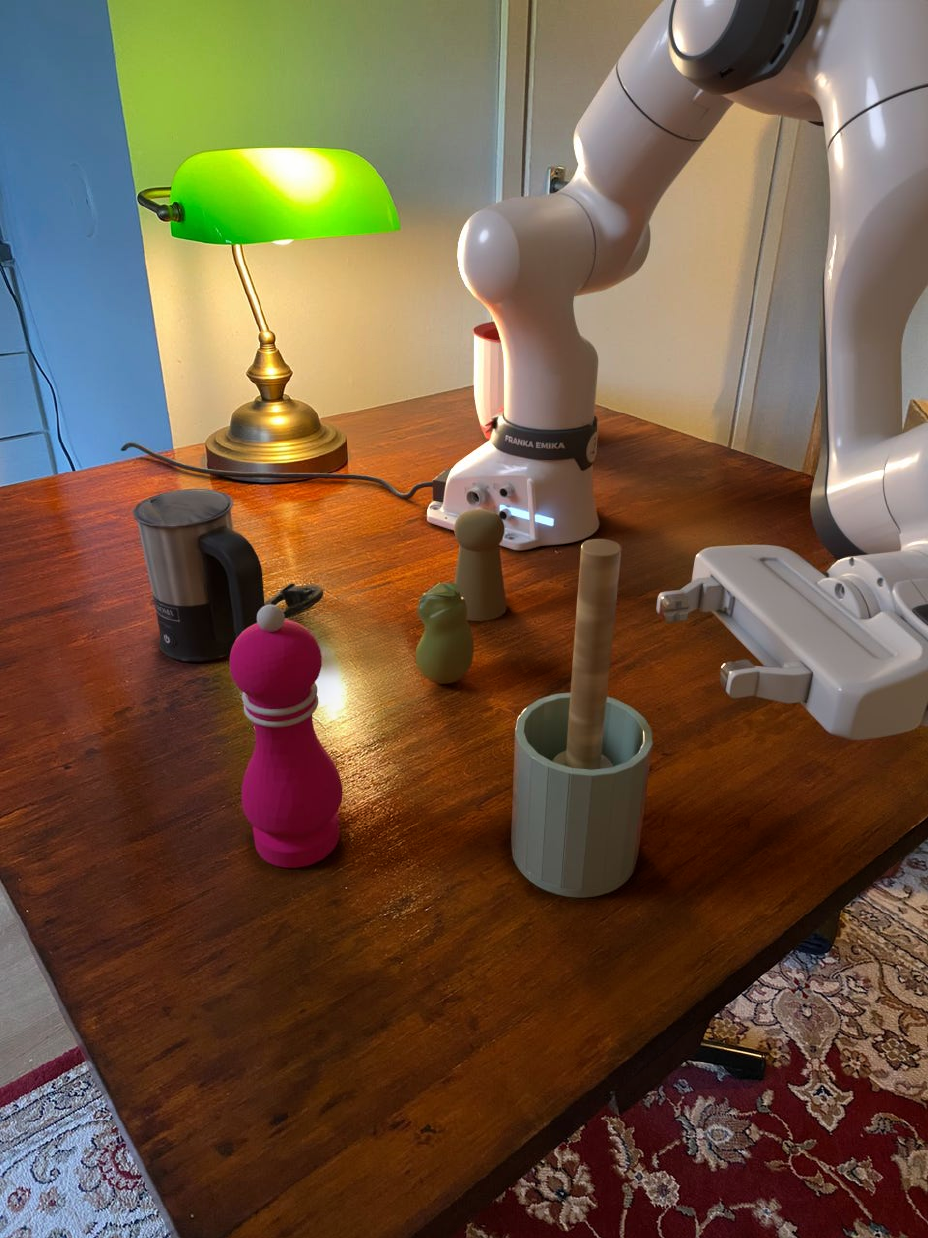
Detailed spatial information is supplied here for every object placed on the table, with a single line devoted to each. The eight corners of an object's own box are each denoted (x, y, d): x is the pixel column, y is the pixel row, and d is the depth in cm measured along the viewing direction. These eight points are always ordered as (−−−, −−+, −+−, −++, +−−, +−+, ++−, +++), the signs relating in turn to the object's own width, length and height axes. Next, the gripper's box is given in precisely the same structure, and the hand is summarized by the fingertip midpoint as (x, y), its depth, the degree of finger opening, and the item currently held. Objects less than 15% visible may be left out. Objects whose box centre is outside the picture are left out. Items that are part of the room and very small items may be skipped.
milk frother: (138, 652, 91) (110, 516, 83) (229, 584, 103) (211, 460, 96) (261, 682, 86) (242, 540, 79) (340, 606, 99) (330, 478, 91)
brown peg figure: (513, 599, 100) (516, 506, 95) (496, 625, 95) (499, 529, 90) (461, 590, 102) (461, 499, 97) (443, 615, 97) (441, 521, 92)
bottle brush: (537, 852, 66) (553, 554, 54) (558, 814, 69) (579, 526, 57) (594, 872, 64) (625, 568, 52) (614, 832, 68) (647, 539, 55)
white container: (593, 433, 149) (603, 307, 139) (525, 460, 138) (530, 325, 128) (521, 413, 158) (525, 293, 148) (452, 437, 148) (451, 309, 138)
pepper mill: (254, 808, 71) (220, 582, 61) (347, 803, 71) (328, 578, 61) (243, 877, 65) (202, 638, 55) (344, 871, 65) (323, 632, 55)
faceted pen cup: (491, 871, 65) (493, 750, 60) (539, 794, 72) (545, 679, 67) (614, 915, 62) (628, 791, 56) (651, 830, 69) (668, 712, 63)
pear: (451, 701, 83) (451, 606, 78) (404, 684, 86) (401, 591, 81) (483, 672, 88) (484, 581, 83) (437, 657, 90) (435, 567, 85)
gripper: (801, 516, 70) (633, 534, 67) (994, 654, 53) (779, 686, 50) (786, 589, 73) (626, 608, 70) (964, 741, 56) (760, 775, 53)
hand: (690, 642), depth 60 cm, fingers open, 8 cm apart
